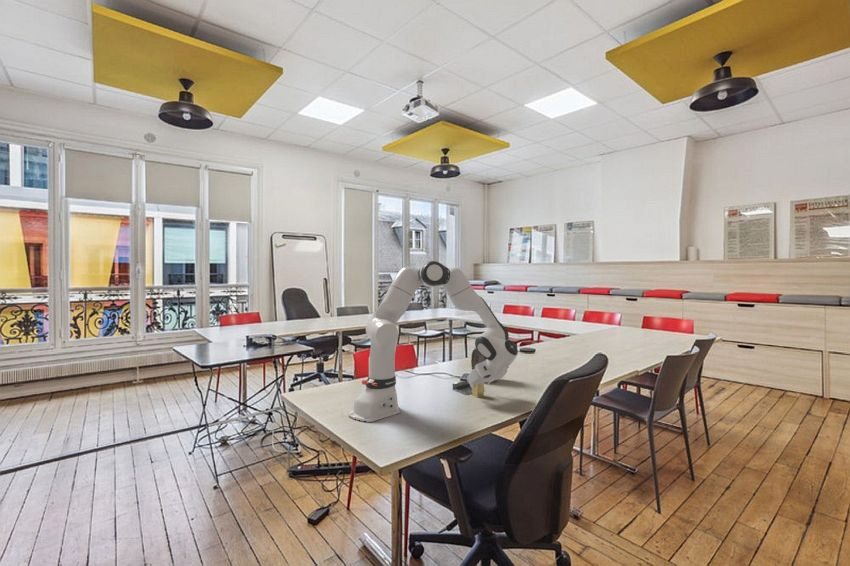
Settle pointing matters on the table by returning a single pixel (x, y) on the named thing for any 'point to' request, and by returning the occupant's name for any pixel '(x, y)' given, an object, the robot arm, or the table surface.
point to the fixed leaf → (462, 387)
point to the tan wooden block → (478, 390)
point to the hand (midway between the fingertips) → (479, 384)
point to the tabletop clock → (477, 359)
